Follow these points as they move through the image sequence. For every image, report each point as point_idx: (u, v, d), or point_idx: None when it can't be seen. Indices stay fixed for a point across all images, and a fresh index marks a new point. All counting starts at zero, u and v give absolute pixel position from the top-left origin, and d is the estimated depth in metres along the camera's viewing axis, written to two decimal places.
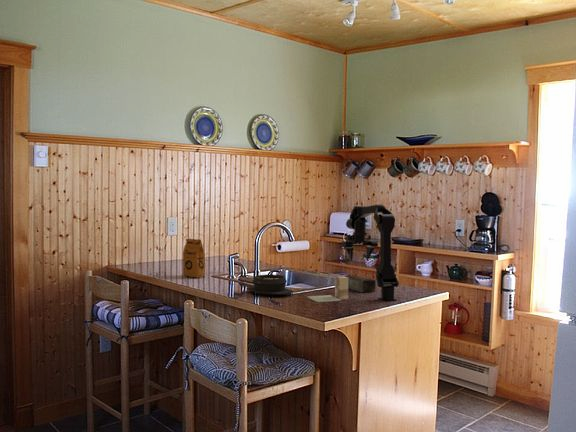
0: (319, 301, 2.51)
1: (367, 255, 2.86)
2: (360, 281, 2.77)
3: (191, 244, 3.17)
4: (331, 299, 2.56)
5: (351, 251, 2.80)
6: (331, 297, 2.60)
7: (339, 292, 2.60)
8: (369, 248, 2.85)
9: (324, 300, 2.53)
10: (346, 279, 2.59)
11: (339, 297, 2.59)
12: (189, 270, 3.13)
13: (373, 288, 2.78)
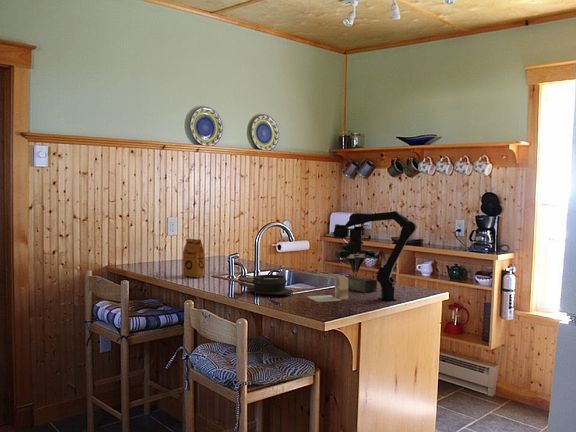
0: (319, 301, 2.51)
1: (356, 266, 2.64)
2: (362, 281, 2.77)
3: (191, 244, 3.17)
4: (331, 299, 2.56)
5: (353, 261, 2.60)
6: (331, 297, 2.60)
7: (339, 292, 2.60)
8: (359, 259, 2.63)
9: (324, 300, 2.53)
10: (346, 279, 2.59)
11: (339, 297, 2.59)
12: (189, 270, 3.13)
13: (375, 288, 2.79)
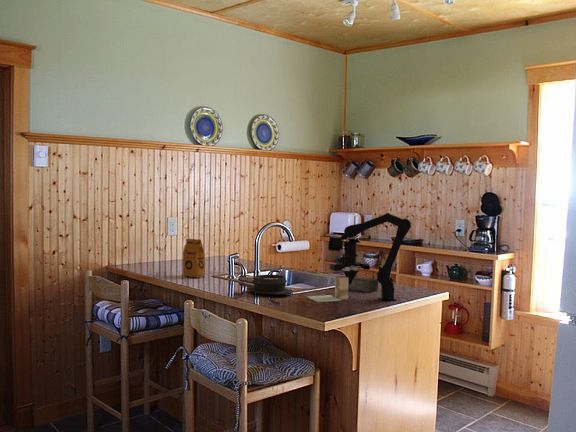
0: (319, 301, 2.51)
1: None
2: (366, 281, 2.78)
3: (191, 244, 3.17)
4: (331, 299, 2.56)
5: (349, 274, 2.60)
6: (331, 297, 2.60)
7: (339, 292, 2.59)
8: (352, 271, 2.62)
9: (324, 300, 2.53)
10: (346, 279, 2.59)
11: (339, 297, 2.59)
12: (189, 270, 3.13)
13: (377, 287, 2.81)
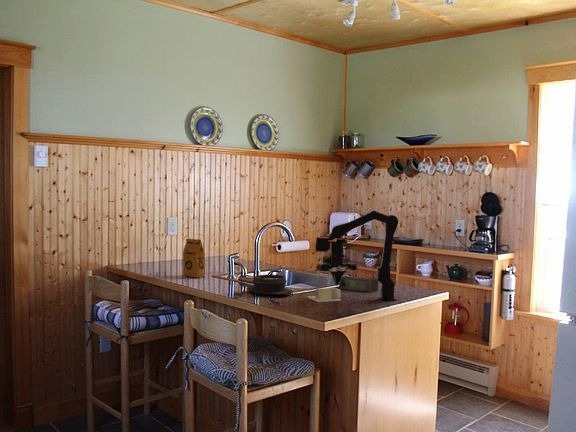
0: (319, 301, 2.51)
1: None
2: (368, 281, 2.78)
3: (191, 244, 3.17)
4: (331, 299, 2.56)
5: (336, 275, 2.58)
6: None
7: None
8: (339, 272, 2.59)
9: (324, 300, 2.53)
10: (322, 293, 2.55)
11: None
12: (189, 270, 3.13)
13: (377, 287, 2.82)
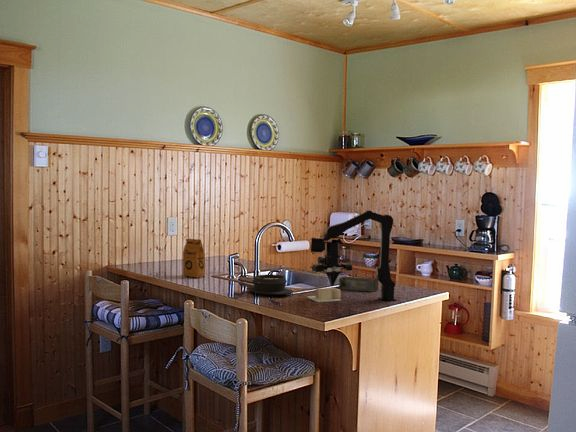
0: (319, 301, 2.51)
1: None
2: (370, 281, 2.79)
3: (191, 244, 3.17)
4: (331, 299, 2.56)
5: (331, 275, 2.57)
6: None
7: None
8: (334, 272, 2.59)
9: (324, 300, 2.53)
10: (322, 293, 2.55)
11: None
12: (189, 270, 3.13)
13: None
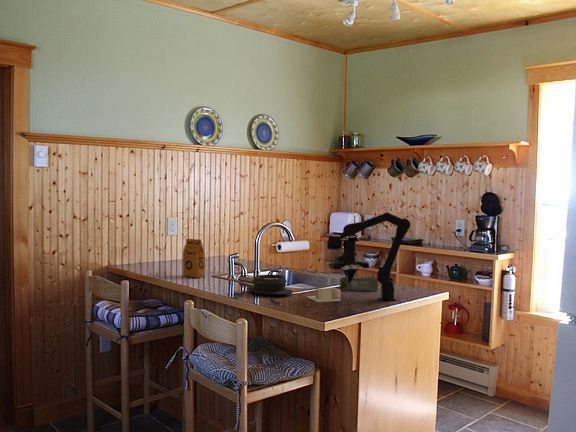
0: (319, 301, 2.51)
1: None
2: (372, 280, 2.80)
3: (191, 244, 3.17)
4: (331, 299, 2.56)
5: (348, 273, 2.60)
6: None
7: None
8: (351, 270, 2.62)
9: (324, 300, 2.53)
10: (322, 293, 2.55)
11: None
12: (189, 270, 3.13)
13: None
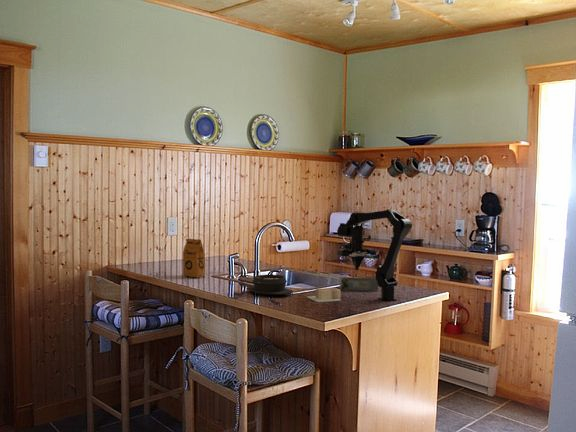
0: (319, 301, 2.51)
1: None
2: (373, 280, 2.81)
3: (191, 244, 3.17)
4: (331, 299, 2.56)
5: (356, 260, 2.68)
6: None
7: None
8: (359, 257, 2.69)
9: (324, 300, 2.53)
10: (322, 293, 2.55)
11: None
12: (189, 270, 3.13)
13: None
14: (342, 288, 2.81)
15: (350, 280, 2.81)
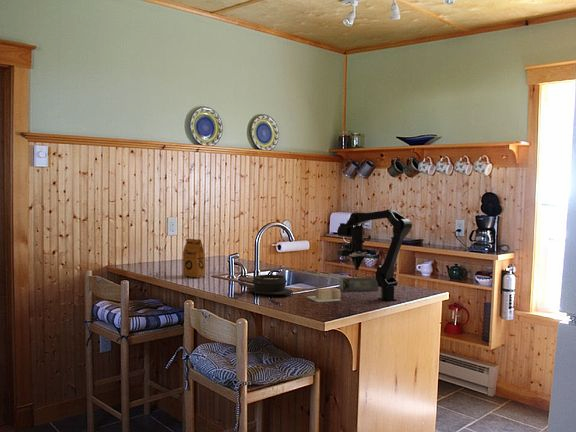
0: (319, 301, 2.51)
1: None
2: (374, 280, 2.82)
3: (191, 244, 3.17)
4: (331, 299, 2.56)
5: (356, 260, 2.68)
6: None
7: None
8: (359, 257, 2.69)
9: (324, 300, 2.53)
10: (322, 293, 2.55)
11: None
12: (189, 270, 3.13)
13: None
14: (344, 289, 2.80)
15: (351, 280, 2.80)
